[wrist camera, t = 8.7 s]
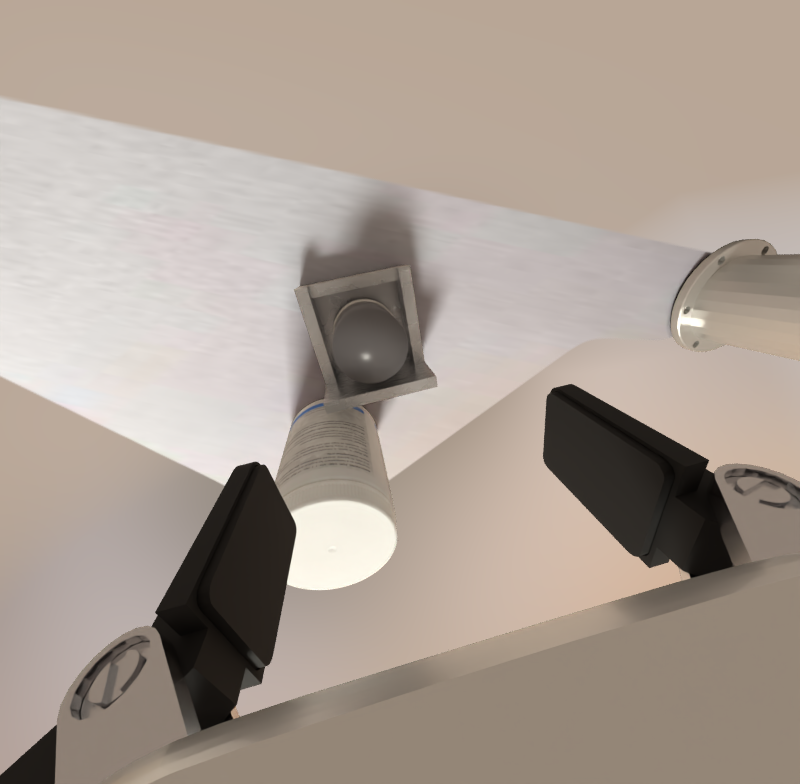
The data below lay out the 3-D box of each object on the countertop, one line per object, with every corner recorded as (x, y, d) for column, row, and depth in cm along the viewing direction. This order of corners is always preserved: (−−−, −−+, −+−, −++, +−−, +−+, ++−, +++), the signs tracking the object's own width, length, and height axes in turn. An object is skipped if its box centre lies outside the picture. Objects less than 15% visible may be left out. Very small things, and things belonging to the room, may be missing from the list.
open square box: (402, 264, 26) (421, 266, 20) (418, 360, 30) (437, 386, 24) (299, 286, 25) (285, 294, 19) (330, 381, 30) (326, 414, 23)
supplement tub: (272, 432, 31) (219, 559, 18) (335, 377, 30) (328, 470, 16) (336, 478, 35) (331, 608, 22) (393, 431, 34) (425, 540, 21)
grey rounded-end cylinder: (387, 291, 26) (402, 300, 20) (399, 350, 29) (414, 374, 22) (325, 304, 26) (320, 317, 19) (342, 363, 28) (343, 392, 22)
